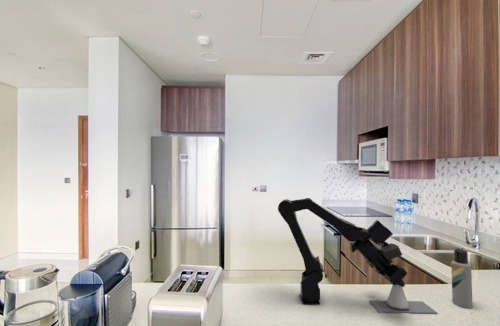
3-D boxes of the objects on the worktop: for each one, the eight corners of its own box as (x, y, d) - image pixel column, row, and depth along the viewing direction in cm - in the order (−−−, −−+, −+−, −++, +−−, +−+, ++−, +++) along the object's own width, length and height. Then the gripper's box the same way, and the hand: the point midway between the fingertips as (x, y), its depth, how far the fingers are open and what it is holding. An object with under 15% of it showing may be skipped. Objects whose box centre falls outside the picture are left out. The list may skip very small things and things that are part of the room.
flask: (412, 311, 86) (412, 281, 87) (389, 308, 88) (388, 279, 89) (405, 301, 93) (404, 273, 94) (383, 298, 95) (383, 271, 96)
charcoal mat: (378, 313, 87) (378, 311, 87) (368, 301, 95) (368, 300, 95) (437, 314, 86) (437, 312, 86) (422, 302, 94) (422, 301, 94)
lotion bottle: (468, 302, 95) (466, 248, 96) (475, 309, 90) (473, 252, 90) (449, 299, 97) (448, 246, 98) (456, 306, 91) (454, 250, 92)
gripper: (400, 243, 83) (435, 279, 82) (374, 231, 101) (402, 259, 101) (376, 267, 82) (411, 303, 82) (354, 250, 101) (382, 279, 100)
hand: (401, 283), depth 91 cm, fingers closed on flask, 3 cm apart
